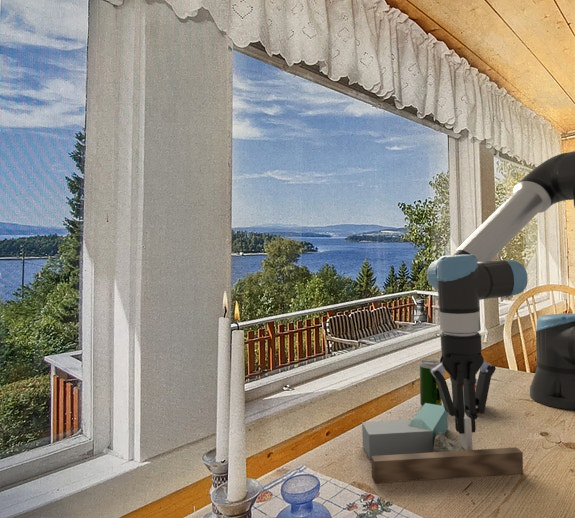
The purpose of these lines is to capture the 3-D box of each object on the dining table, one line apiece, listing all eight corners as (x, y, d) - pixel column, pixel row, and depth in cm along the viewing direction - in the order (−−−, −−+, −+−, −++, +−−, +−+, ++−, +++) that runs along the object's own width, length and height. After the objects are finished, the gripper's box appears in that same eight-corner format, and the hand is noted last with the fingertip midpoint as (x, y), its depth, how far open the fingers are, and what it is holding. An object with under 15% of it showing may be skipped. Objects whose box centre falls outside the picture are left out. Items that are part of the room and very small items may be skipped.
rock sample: (486, 458, 78) (451, 418, 83) (454, 485, 79) (420, 443, 84) (486, 458, 87) (454, 422, 92) (457, 482, 87) (426, 445, 92)
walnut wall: (516, 467, 82) (516, 447, 82) (523, 473, 80) (522, 452, 80) (371, 477, 80) (371, 456, 80) (374, 482, 78) (374, 461, 78)
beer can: (418, 408, 112) (417, 363, 112) (422, 401, 117) (421, 358, 116) (440, 412, 109) (439, 365, 109) (443, 404, 114) (442, 360, 114)
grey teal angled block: (442, 422, 102) (442, 402, 102) (473, 452, 88) (472, 428, 87) (353, 427, 101) (353, 406, 101) (369, 459, 86) (369, 434, 86)
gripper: (481, 326, 90) (487, 436, 91) (422, 330, 89) (428, 442, 90) (501, 333, 82) (507, 453, 83) (437, 338, 82) (443, 460, 82)
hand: (466, 447), depth 86 cm, fingers closed
